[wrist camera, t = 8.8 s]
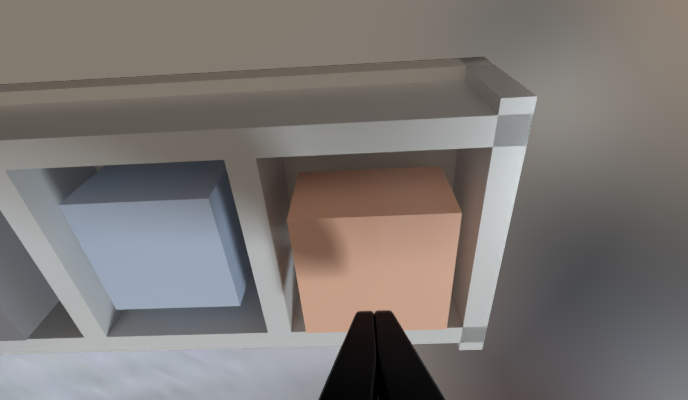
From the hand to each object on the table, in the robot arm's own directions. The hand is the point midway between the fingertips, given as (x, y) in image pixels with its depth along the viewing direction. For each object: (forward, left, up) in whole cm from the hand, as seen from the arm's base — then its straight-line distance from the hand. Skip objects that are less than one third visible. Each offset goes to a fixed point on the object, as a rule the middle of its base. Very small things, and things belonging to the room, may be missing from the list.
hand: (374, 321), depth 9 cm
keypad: (-10, 0, -6) cm, 12 cm away
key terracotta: (0, 0, -4) cm, 4 cm away
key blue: (-6, 0, -5) cm, 8 cm away
